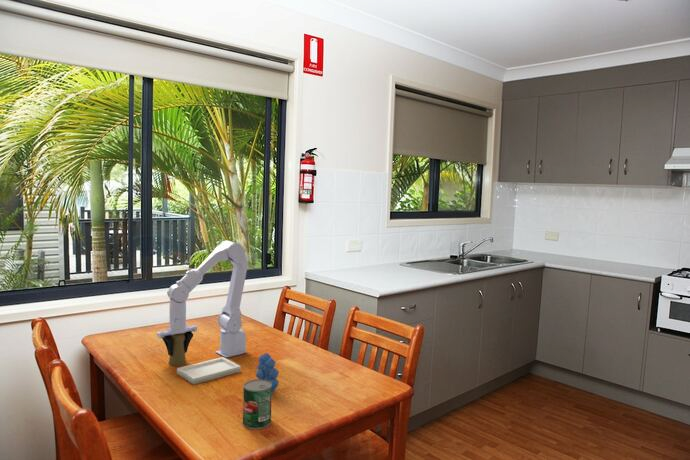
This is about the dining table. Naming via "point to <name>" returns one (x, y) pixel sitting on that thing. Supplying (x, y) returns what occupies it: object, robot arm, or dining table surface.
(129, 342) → the dining table surface
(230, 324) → the robot arm
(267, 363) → the grapes
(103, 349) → the dining table surface
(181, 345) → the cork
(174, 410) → the dining table surface
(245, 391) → the canned tomato
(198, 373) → the white tray
